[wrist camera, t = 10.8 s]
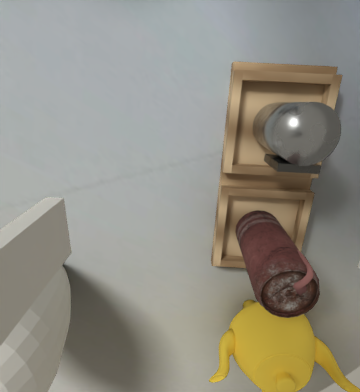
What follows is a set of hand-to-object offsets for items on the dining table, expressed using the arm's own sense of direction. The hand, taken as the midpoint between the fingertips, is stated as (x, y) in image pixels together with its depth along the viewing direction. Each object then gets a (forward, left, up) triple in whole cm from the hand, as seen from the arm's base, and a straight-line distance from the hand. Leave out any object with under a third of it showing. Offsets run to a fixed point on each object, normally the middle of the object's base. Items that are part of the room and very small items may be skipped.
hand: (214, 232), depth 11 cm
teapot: (+30, +13, -26) cm, 42 cm away
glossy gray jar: (-3, +9, -24) cm, 26 cm away
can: (+11, +9, -24) cm, 28 cm away
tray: (+4, +9, -26) cm, 28 cm away
